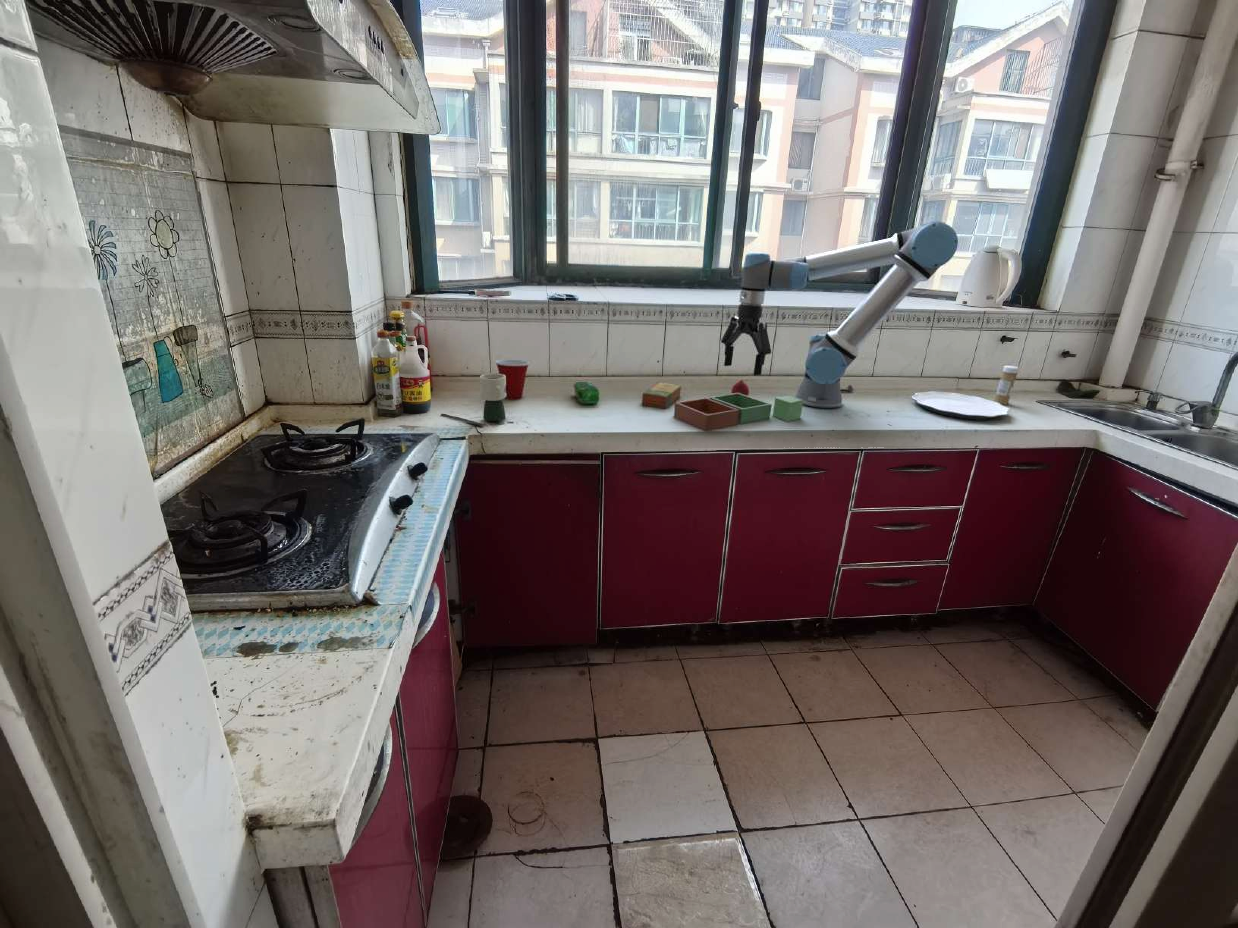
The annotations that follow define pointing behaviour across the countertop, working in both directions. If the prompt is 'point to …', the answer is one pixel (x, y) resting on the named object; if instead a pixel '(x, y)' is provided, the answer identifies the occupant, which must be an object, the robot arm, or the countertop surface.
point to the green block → (787, 408)
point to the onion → (740, 388)
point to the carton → (661, 395)
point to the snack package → (586, 392)
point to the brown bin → (706, 413)
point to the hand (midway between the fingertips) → (742, 370)
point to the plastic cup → (513, 376)
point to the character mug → (493, 396)
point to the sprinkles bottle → (1006, 384)
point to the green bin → (745, 407)
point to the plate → (960, 405)
